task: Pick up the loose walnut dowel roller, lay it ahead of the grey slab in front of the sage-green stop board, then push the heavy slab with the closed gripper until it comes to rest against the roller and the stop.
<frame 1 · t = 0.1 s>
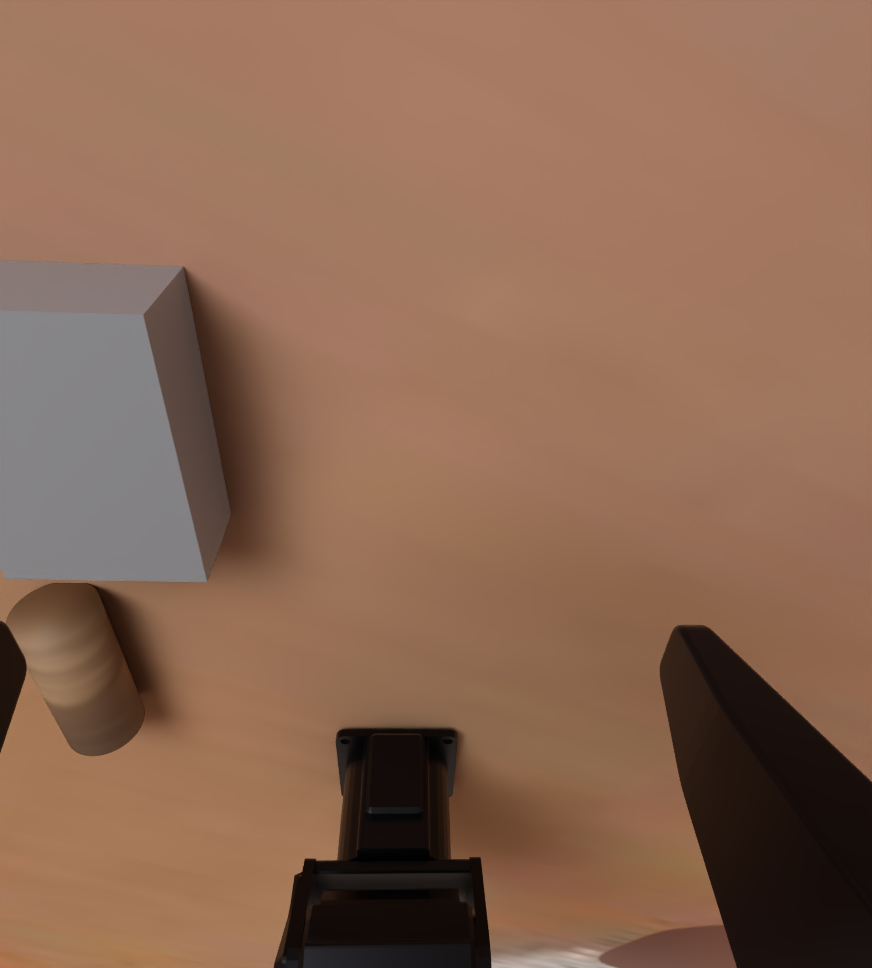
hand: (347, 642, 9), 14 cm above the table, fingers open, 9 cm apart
slab: (112, 399, 23), on the table
roller: (99, 640, 31), on the table
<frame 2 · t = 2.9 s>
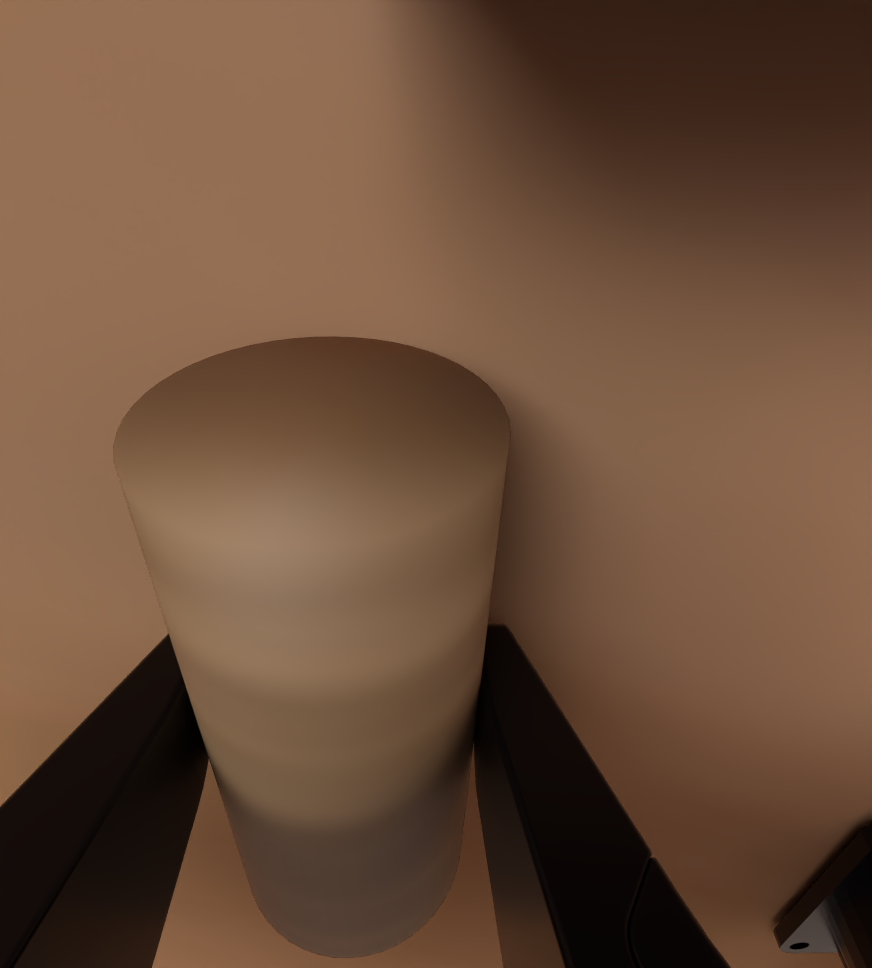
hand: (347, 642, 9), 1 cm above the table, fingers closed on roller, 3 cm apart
roller: (365, 586, 10), on the table, tilted 6°, touching gripper
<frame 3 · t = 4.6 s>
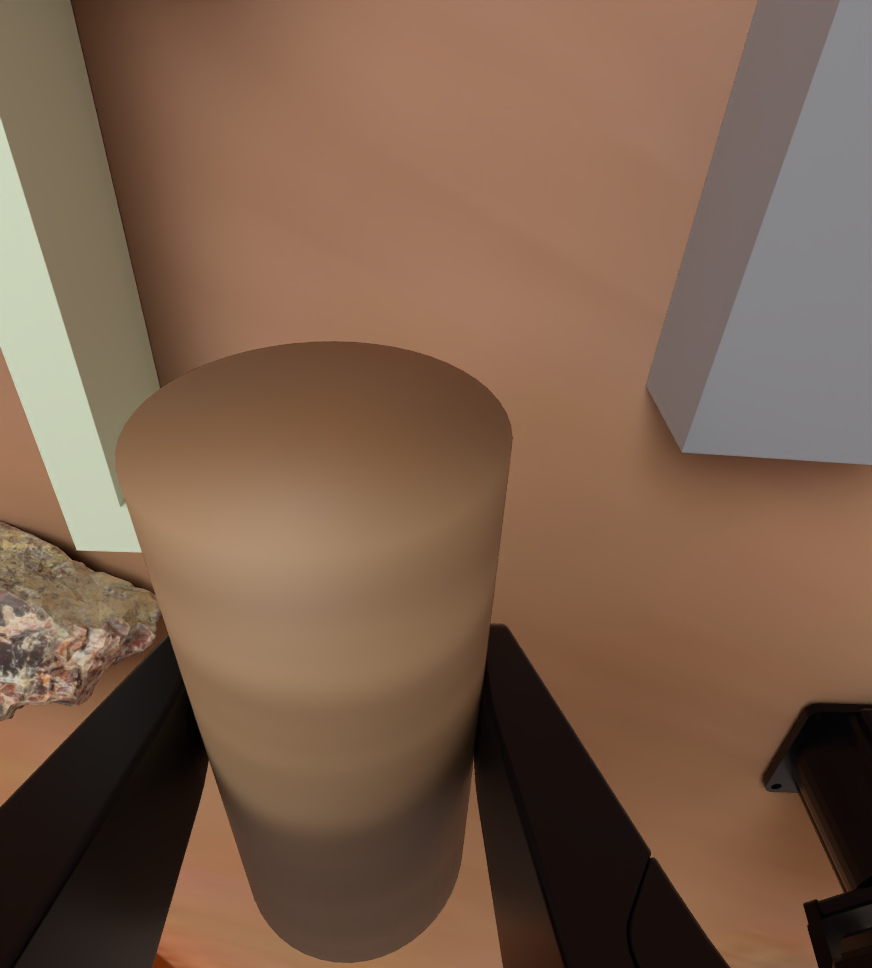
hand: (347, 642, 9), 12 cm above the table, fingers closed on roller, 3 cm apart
stop board: (83, 192, 17), on the table
slab: (822, 220, 17), on the table
roller: (366, 590, 10), point 11 cm above the table, touching gripper
when the fingers open (2 cm above the table, at t = 6.5 s): roller drops 1 cm, on the table.
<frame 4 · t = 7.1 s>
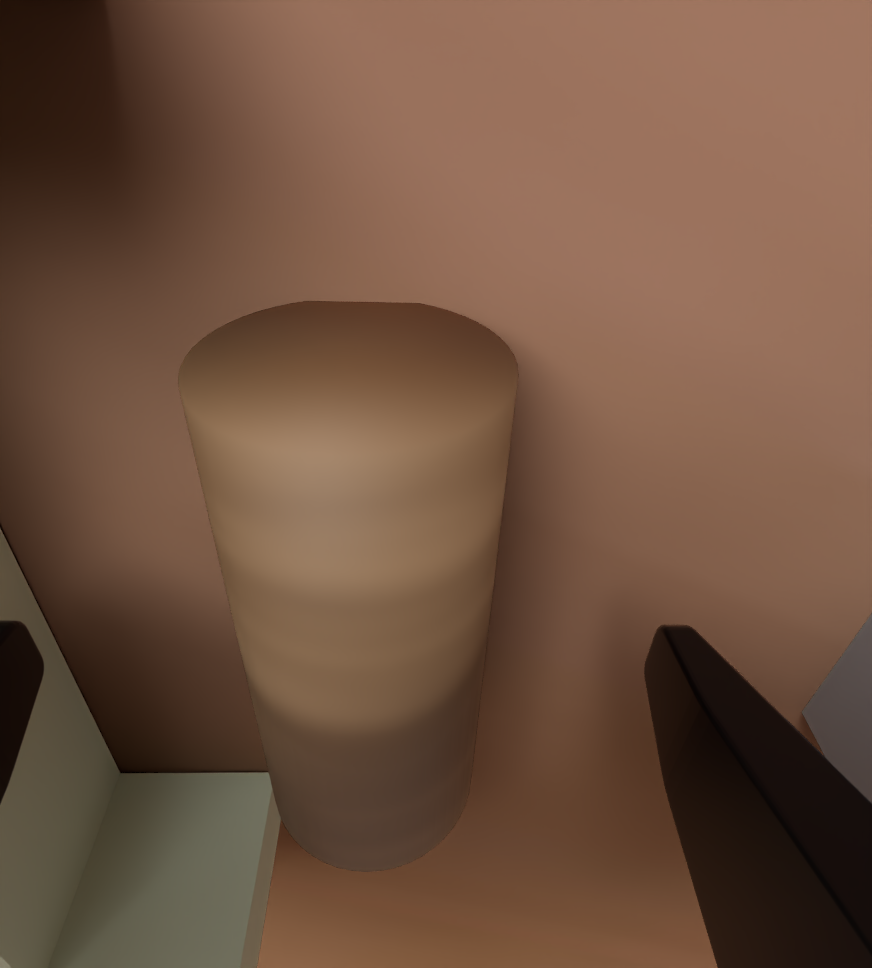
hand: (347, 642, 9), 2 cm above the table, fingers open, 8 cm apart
roller: (359, 534, 11), on the table, tilted 7°
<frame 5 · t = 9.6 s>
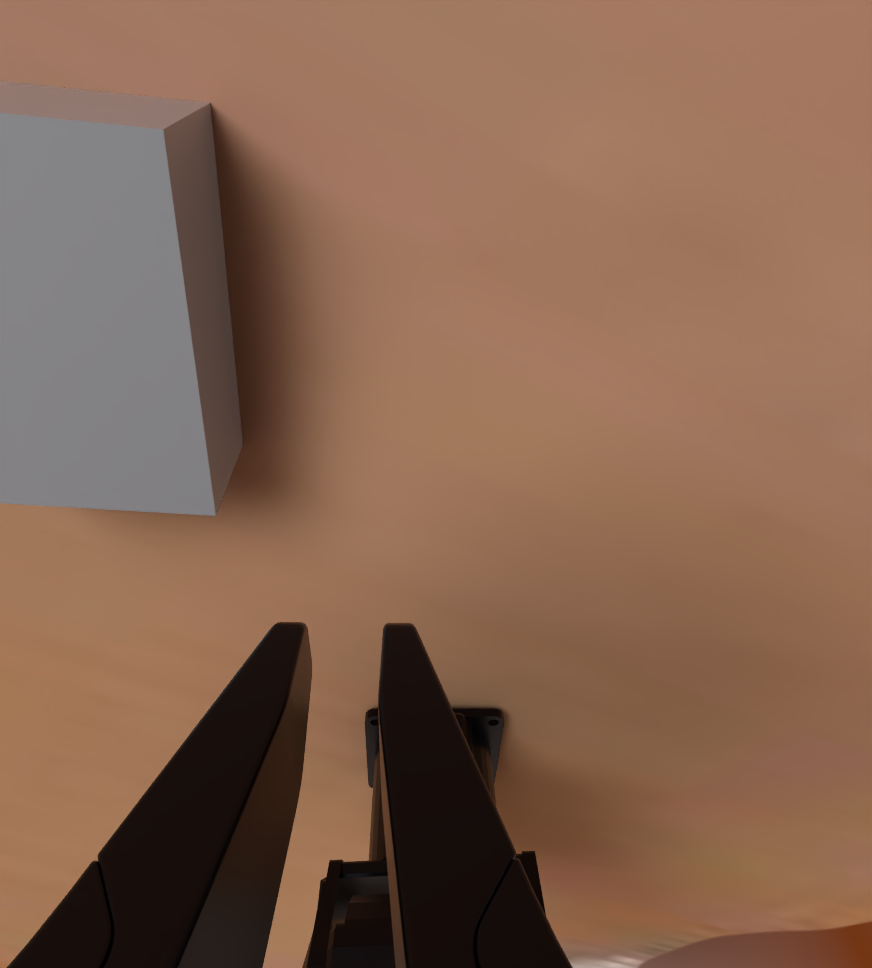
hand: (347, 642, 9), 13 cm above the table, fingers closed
slab: (107, 286, 19), on the table
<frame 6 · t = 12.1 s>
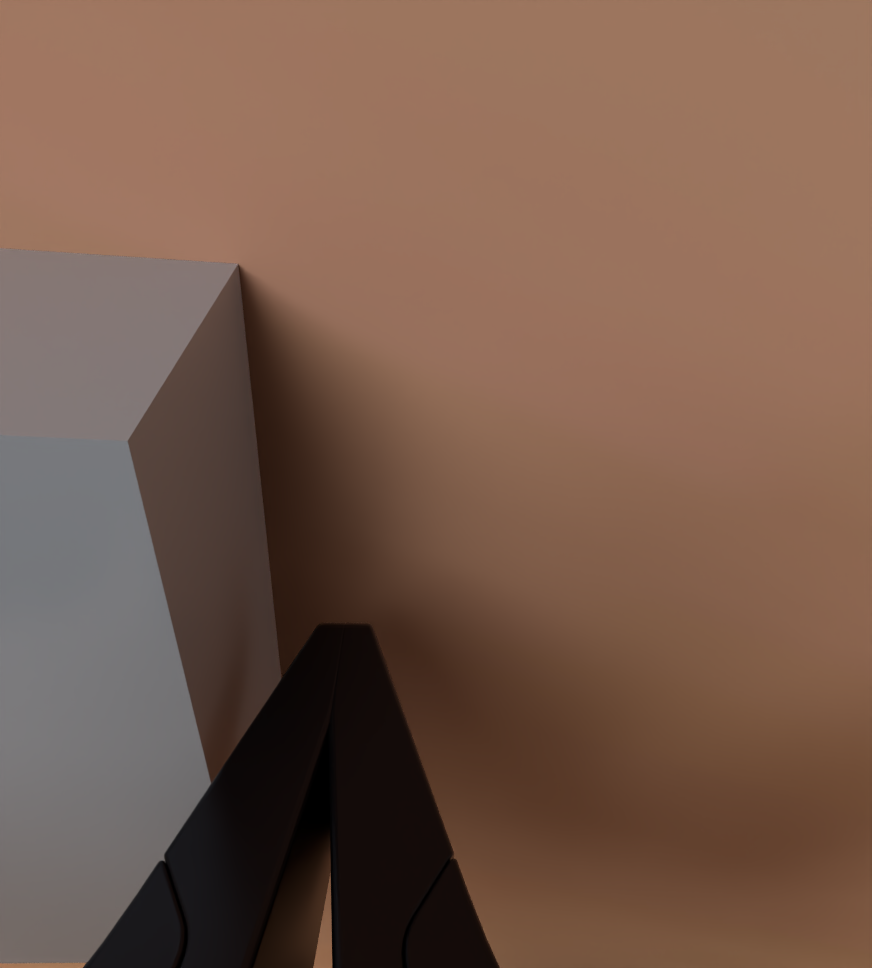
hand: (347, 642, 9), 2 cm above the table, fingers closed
slab: (52, 554, 11), on the table, touching gripper
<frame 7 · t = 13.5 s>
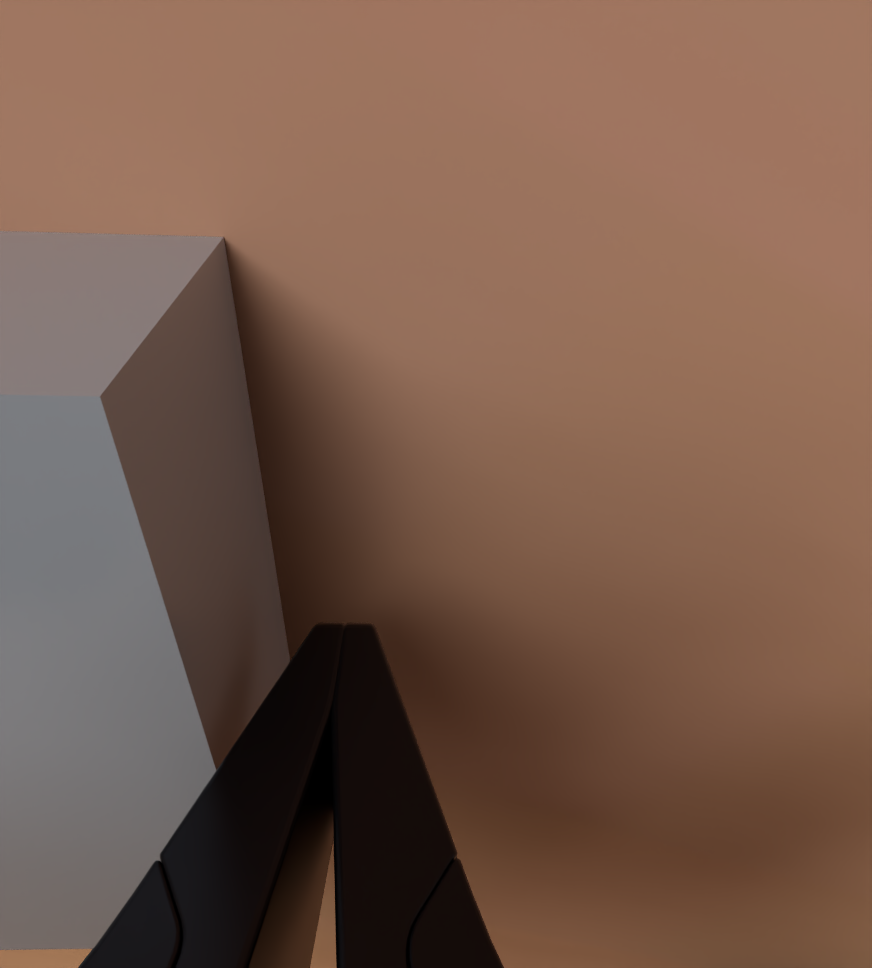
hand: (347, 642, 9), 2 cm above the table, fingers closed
slab: (59, 542, 11), on the table, touching gripper
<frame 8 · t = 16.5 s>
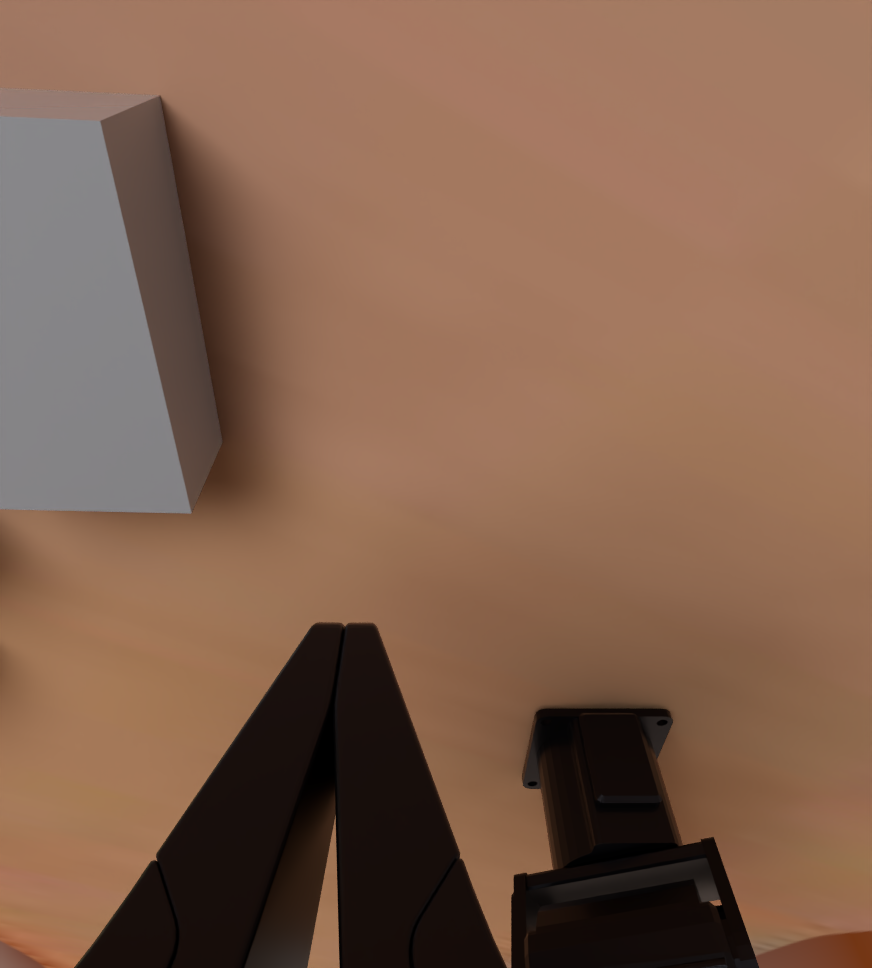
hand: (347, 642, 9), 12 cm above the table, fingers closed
slab: (75, 288, 19), on the table
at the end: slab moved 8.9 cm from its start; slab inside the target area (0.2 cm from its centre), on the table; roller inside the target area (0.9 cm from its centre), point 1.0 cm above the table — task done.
